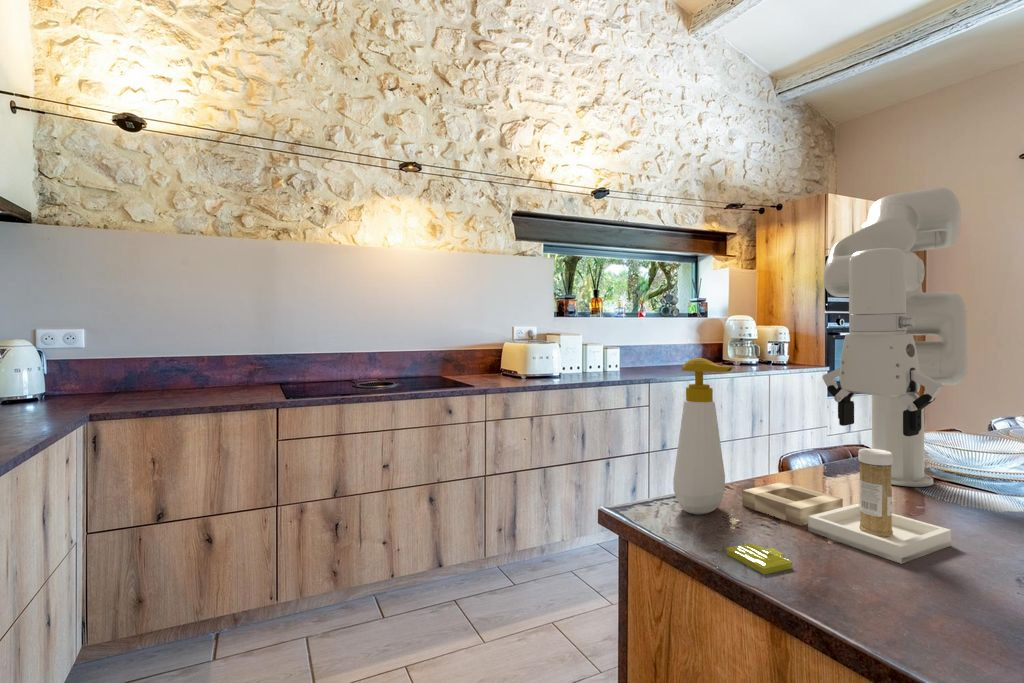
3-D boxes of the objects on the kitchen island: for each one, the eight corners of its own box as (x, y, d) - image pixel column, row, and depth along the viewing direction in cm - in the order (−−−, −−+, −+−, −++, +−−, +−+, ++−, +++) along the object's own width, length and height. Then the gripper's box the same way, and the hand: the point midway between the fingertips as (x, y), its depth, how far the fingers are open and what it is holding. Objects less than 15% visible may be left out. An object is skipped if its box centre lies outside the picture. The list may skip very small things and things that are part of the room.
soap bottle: (716, 527, 88) (715, 360, 87) (662, 512, 95) (661, 358, 95) (746, 509, 96) (745, 357, 96) (694, 497, 104) (694, 356, 104)
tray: (857, 517, 92) (857, 503, 92) (951, 545, 79) (951, 529, 79) (808, 530, 86) (808, 516, 86) (901, 563, 73) (901, 546, 73)
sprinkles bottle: (900, 536, 81) (900, 453, 81) (875, 538, 80) (875, 454, 80) (875, 526, 86) (875, 446, 85) (851, 527, 85) (851, 448, 85)
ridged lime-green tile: (711, 556, 78) (711, 538, 78) (757, 547, 81) (757, 530, 81) (764, 586, 68) (764, 565, 68) (814, 575, 72) (814, 555, 72)
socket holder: (782, 496, 104) (782, 481, 104) (842, 514, 93) (842, 498, 93) (742, 505, 99) (742, 490, 99) (800, 525, 88) (800, 508, 88)
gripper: (953, 324, 76) (953, 436, 77) (837, 325, 92) (837, 419, 92) (926, 325, 73) (926, 443, 74) (810, 326, 88) (811, 423, 89)
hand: (877, 429), depth 83 cm, fingers open, 9 cm apart
